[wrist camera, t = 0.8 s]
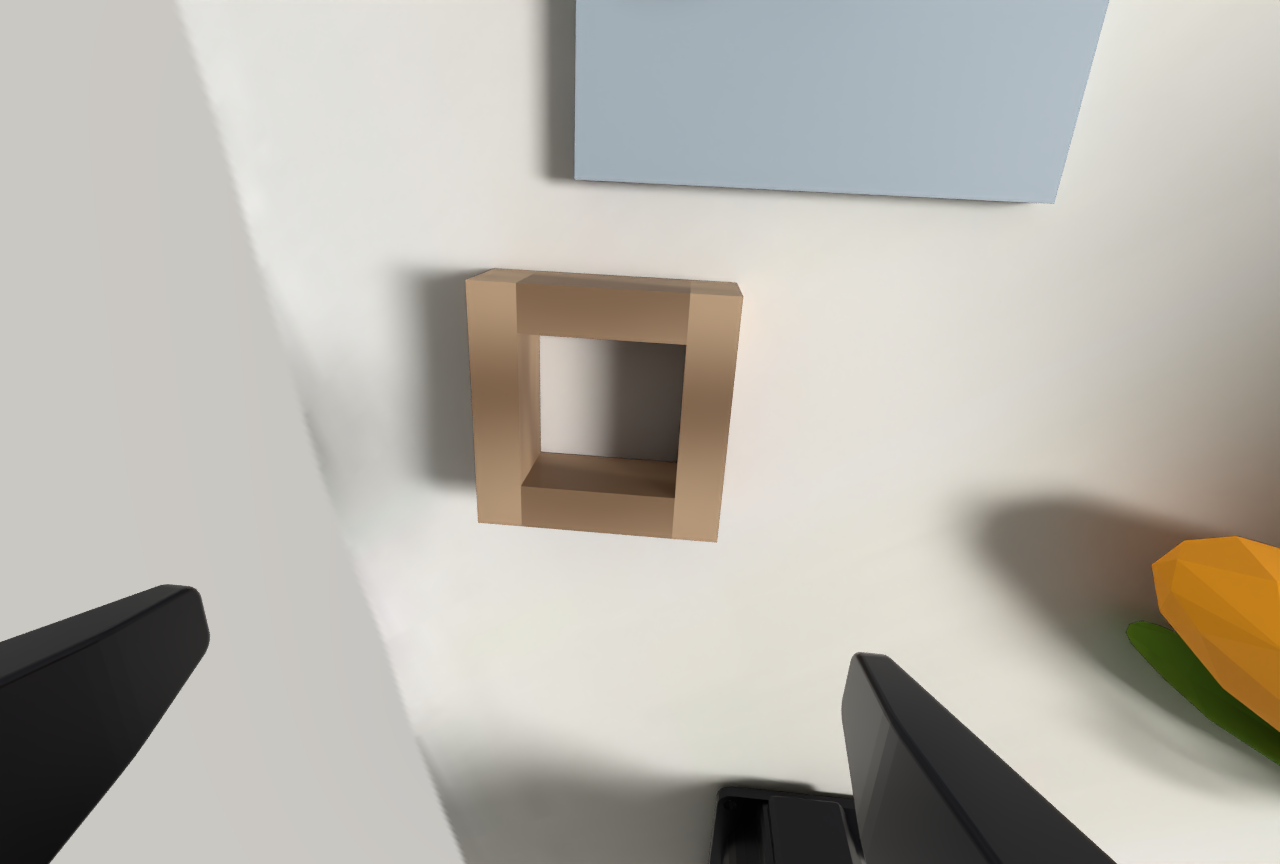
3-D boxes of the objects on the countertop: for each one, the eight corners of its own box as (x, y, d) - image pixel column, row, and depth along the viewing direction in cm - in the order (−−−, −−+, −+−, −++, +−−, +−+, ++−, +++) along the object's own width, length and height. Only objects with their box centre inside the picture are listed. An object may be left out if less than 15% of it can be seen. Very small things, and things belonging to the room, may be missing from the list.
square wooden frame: (714, 501, 20) (716, 542, 18) (502, 485, 21) (478, 522, 18) (736, 282, 18) (743, 296, 15) (494, 268, 18) (465, 279, 16)
